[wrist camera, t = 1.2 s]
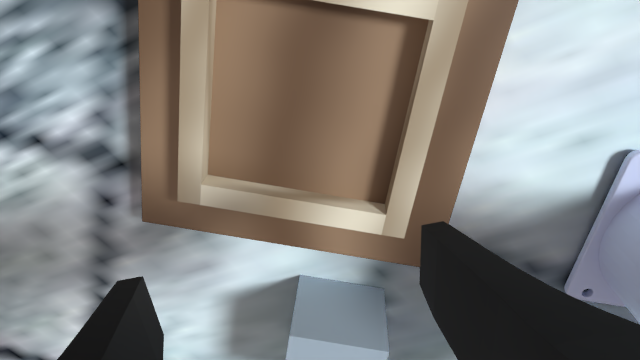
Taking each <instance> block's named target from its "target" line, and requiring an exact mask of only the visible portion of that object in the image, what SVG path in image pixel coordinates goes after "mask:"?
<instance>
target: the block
mask: <svg viewBox="0 0 640 360" xmlns="http://www.w3.org/2000/svg"><path fill="white" fill-rule="evenodd" d="M388 356H389V341H388V330H387V319H386V308H385V296H384V289H383V288H377V287H371V286H365V285H359V284H353V283H347V282H341V281H335V280H329V279H323V278H317V277H311V276H305V275H300V277H299V283H298V289H297V295H296V300H295V306H294V312H293V318H292V323H291V329H290V335H289V341H288V347H287V353H286V359H285V360H387V359H388Z"/></svg>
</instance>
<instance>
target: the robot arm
mask: <svg viewBox="0 0 640 360" xmlns="http://www.w3.org/2000/svg"><path fill="white" fill-rule="evenodd" d="M420 286H421V288H422V291H423V293H424V296H425V298H426V301H427V303H428V305H429V308H430V310H431V312H432V315H433V317H434V319H435V321H436V322H437V324H438V326H439V328H440V329H441V331H442V333H443V335H444V336H445V338H446V340H447V342H448V343H449V345H450V347H451V349H452V350H453V352H454V354H455V355H456V357H457V359H458V360H640V325H639V324H640V150H635V151H632V152H630V153H629V154H628V155H627V156H626V157H625V159H624V161H623V163H622V165H621V167H620V169H619V171H618V174H617V176H616V178H615V180H614V182H613V184H612V186H611V188H610V191H609V193H608V195H607V197H606V199H605V201H604V203H603V205H602V208H601V210H600V212H599V214H598V216H597V218H596V220H595V222H594V224H593V227H592V229H591V231H590V233H589V235H588V237H587V239H586V241H585V244H584V246H583V248H582V250H581V252H580V254H579V256H578V258H577V261H576V263H575V265H574V267H573V269H572V271H571V273H570V275H569V277H568V280H567V282H566V284H565V287H564V289H565V292H566V294H565V293H563V292H561V291H559V290H557V289H555V288H553V287H551V286H549V285H547V284H545V283H544V282H542V281H540V280H538V279H536V278H534V277H533V276H531V275H529V274H527V273H525V272H524V271H522V270H520V269H518V268H517V267H515V266H513V265H512V264H510V263H508V262H507V261H505V260H503V259H502V258H500V257H498V256H497V255H495V254H494V253H492V252H490V251H489V250H487V249H486V248H484V247H483V246H481V245H480V244H478V243H476V242H475V241H473V240H472V239H470V238H469V237H467V236H466V235H464V234H463V233H461V232H460V231H458V230H457V229H455V228H454V227H452V226H450V225H449V224H447V223H445V222H444V221H442V222H436V223H431V224H425V225H421V256H420ZM585 289H589V290H588V291H586V292H583V291H584V290H585ZM578 299H579V300H578ZM580 300H585V301H591V302H597V303H604V304H610V305H616V306H622V307H627V308H628V310H629V311H630V312H631V313H632V315H633V316H634V317H635V319H636V320H637V321H638V322H639V324H637V323H634V322H631V321H629V320H626V319H624V318H621V317H618V316H616V315H613V314H611V313H608V312H606V311H603V310H601V309H599V308H596V307H594V306H591V305H589V304H587V303H585V302H583V301H580ZM163 342H164V334H163V331H162V329H161V326H160V323H159V320H158V317H157V315H156V312H155V309H154V306H153V303H152V301H151V298H150V295H149V292H148V289H147V287H146V284H145V281H144V278H143V276H142V277H136V278H131V279H125V280H120V281H117V282H116V284H115V285H114V286H113V287H112V289H111V290H110V291H109V293H108V294H107V295H106V297H105V298H104V299H103V301H102V302H101V303H100V305H99V306H98V307H97V309H96V310H95V312H94V313H93V314H92V316H91V317H90V318H89V320H88V321H87V322H86V324H85V325H84V326H83V328H82V329H81V330H80V331H79V333H78V334H77V335H76V337H75V338H74V339H73V340H72V342H71V343H70V344H69V346H68V347H67V348H66V349H65V351H64V352H63V353H62V355H61V356H60V357H59V358H58V359H57V360H163Z"/></svg>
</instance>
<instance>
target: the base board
mask: <svg viewBox="0 0 640 360" xmlns="http://www.w3.org/2000/svg"><path fill="white" fill-rule="evenodd" d="M518 1H519V0H138V15H139V70H140V125H141V181H142V221H143V222H149V223H155V224H161V225H168V226H174V227H180V228H186V229H192V230H198V231H204V232H210V233H216V234H222V235H228V236H234V237H240V238H246V239H252V240H258V241H265V242H271V243H277V244H283V245H289V246H295V247H301V248H307V249H313V250H319V251H325V252H331V253H337V254H343V255H349V256H356V257H362V258H368V259H374V260H380V261H386V262H392V263H398V264H404V265H410V266H416V267H420V256H421V225H425V224H431V223H436V222H442V221H444V222H445V223H447V224H448V223H449V220H450V217H451V214H452V211H453V208H454V204H455V201H456V198H457V195H458V192H459V188H460V185H461V182H462V179H463V176H464V173H465V169H466V166H467V163H468V160H469V157H470V153H471V150H472V147H473V144H474V141H475V137H476V134H477V131H478V128H479V125H480V122H481V118H482V115H483V112H484V109H485V106H486V102H487V99H488V96H489V93H490V90H491V87H492V83H493V80H494V77H495V74H496V71H497V67H498V64H499V61H500V58H501V55H502V51H503V48H504V45H505V42H506V39H507V36H508V32H509V29H510V26H511V23H512V20H513V16H514V13H515V10H516V7H517V4H518Z"/></svg>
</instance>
